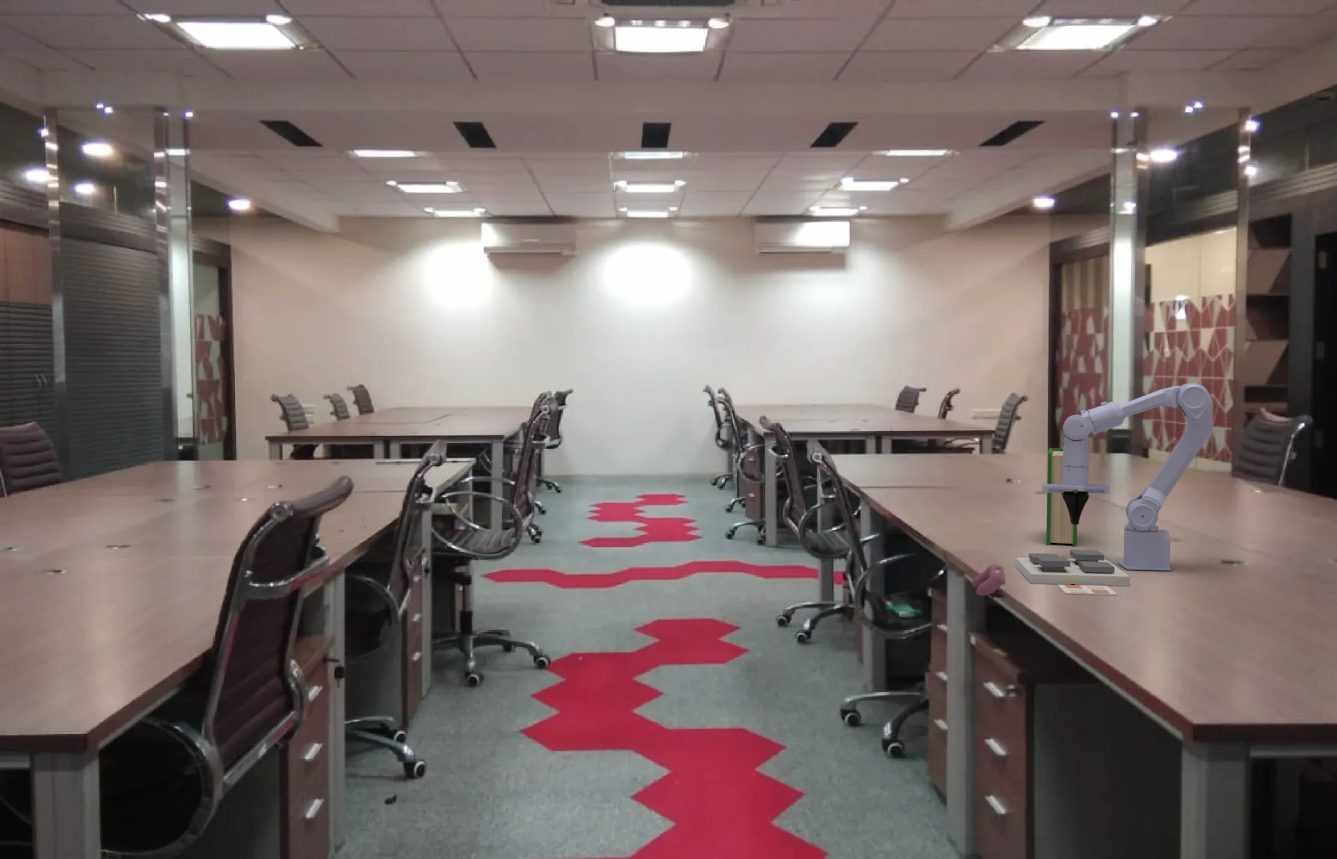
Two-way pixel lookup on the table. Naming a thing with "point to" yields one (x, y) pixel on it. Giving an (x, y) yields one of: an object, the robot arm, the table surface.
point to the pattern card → (1086, 589)
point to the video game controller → (989, 580)
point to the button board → (1071, 575)
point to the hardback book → (1058, 504)
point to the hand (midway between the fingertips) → (1074, 523)
